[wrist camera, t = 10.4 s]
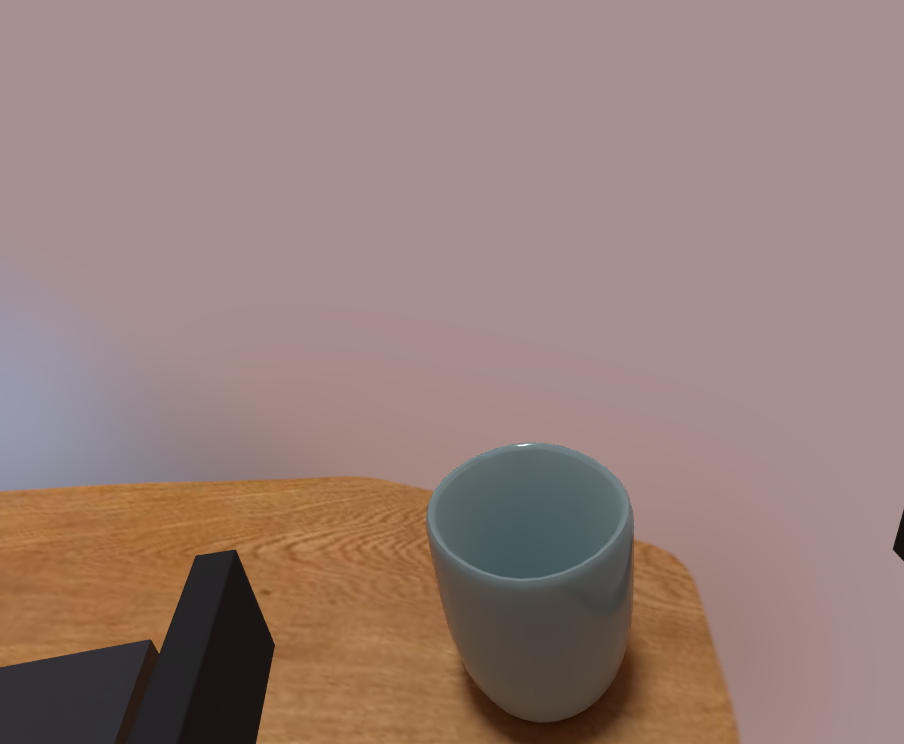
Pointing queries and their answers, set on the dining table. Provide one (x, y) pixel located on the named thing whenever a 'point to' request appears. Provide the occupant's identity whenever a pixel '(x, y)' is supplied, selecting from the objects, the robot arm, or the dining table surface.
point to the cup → (535, 575)
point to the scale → (76, 696)
